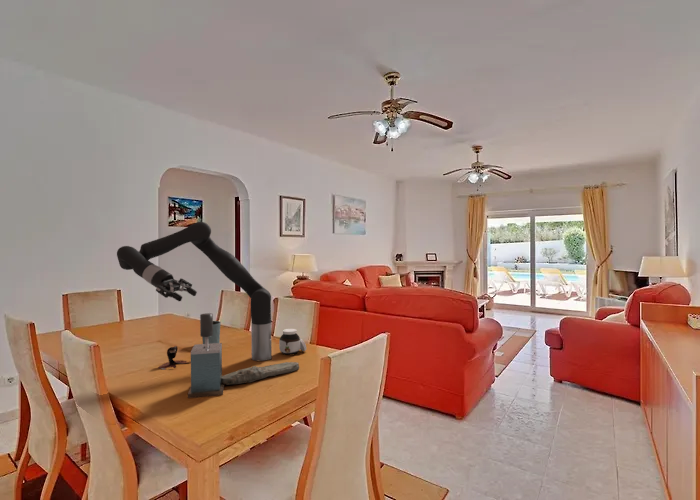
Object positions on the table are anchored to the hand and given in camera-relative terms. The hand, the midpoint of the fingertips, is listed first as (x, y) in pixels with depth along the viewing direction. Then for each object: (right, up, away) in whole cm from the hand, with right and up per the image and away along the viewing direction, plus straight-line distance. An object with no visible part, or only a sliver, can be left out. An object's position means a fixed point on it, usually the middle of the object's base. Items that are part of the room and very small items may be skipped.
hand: (188, 296), depth 155 cm
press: (+11, -35, -8) cm, 37 cm away
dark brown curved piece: (-15, -34, +21) cm, 43 cm away
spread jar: (+36, -34, +41) cm, 64 cm away
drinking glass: (-11, -33, +54) cm, 64 cm away
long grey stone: (+28, -34, +6) cm, 45 cm away
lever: (+11, -31, -8) cm, 33 cm away
